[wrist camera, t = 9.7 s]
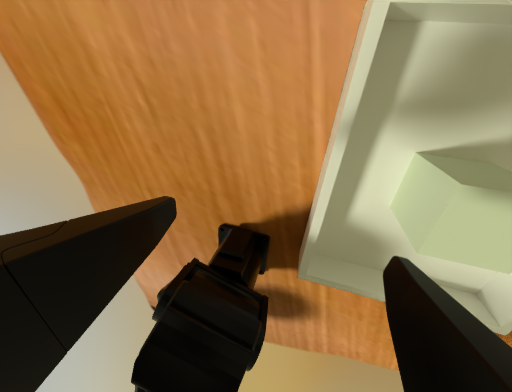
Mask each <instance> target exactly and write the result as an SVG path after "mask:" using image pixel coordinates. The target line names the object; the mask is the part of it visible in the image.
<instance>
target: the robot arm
mask: <svg viewBox="0 0 512 392" xmlns="http://www.w3.org/2000/svg"><path fill="white" fill-rule="evenodd" d="M176 215H177V212H176V201H175V199H174V198H172V197H168V196H163V197H159V198H155V199H151V200H147V201H143V202H139V203H135V204H131V205H127V206H123V207H119V208H115V209H111V210H107V211H103V212H99V213H95V214H91V215H87V216H83V217H79V218H75V219H71V220H69V221H63V222H58V223H54V224H50V225H47V226H42V227H38V228H34V229H29V230H24V231H20V232H15V233H11V234H6V235H1V236H0V392H35V391H36V390H37V389H38V387H39V386H40V385H41V384H42V383H43V381H44V380H45V379H46V378H47V377H48V375H49V374H50V373H51V372H52V371H53V370H54V368H55V367H56V366H57V365H58V364H59V362H60V361H61V360H62V359H63V358H64V356H65V355H66V354H67V352H68V351H69V350H70V349H71V348H72V346H73V345H74V344H75V343H76V342H77V341H78V339H79V338H80V337H81V336H82V335H83V333H84V332H85V331H86V330H87V328H88V327H89V326H90V325H91V324H92V323H93V321H94V320H95V319H96V318H97V317H98V315H99V314H100V313H101V312H102V311H103V309H104V308H105V307H106V306H107V305H108V303H109V302H110V301H111V300H112V299H113V298H114V296H115V295H116V294H117V293H118V292H119V290H120V289H121V288H122V286H123V285H124V284H125V283H126V282H127V281H128V280H129V278H130V277H131V276H132V275H133V274H134V272H135V271H136V270H137V269H138V268H139V266H140V265H141V264H142V263H143V262H144V260H145V259H146V258H147V257H148V256H149V255H150V253H151V252H152V251H153V250H154V248H155V247H156V246H157V245H158V243H159V242H160V240H161V239H162V237H163V236H164V234H165V233H166V232H167V230H168V229H169V227H170V226H171V224H172V223H173V221H174V220H175V218H176ZM222 228H223V229H222ZM218 237H219V247H218V249H217V250H216V252H215V254H214V255H213V257H212V259H211V260H210V262H209V263H208V265H205V264H203V263H202V262H200V261H199V260H198V259H196V258H194V259H193V260H192V261H191V262H190V263H188V264H187V265H185V266H184V267H183V268H182V270H181V271H180V272H179V274H178V275H177V276H176V277H175V278H174V279H173V280H172V281H171V282H170V283H168V284H167V285H166V286H165V287H164V288H162V289H161V290H160V292H159V293H158V295H157V299H158V304H157V306H156V309H155V312H154V314H153V316H152V319H153V320H155V321H157V323H156V324H155V326H154V328H153V329H152V331H151V333H150V334H149V336H148V338H147V339H146V341H145V343H144V345H143V346H142V348H141V350H140V352H139V355H138V357H137V359H136V360H135V363H134V368H133V373H132V378H131V383H132V384H134V385H135V392H238V389H239V386H240V384H241V381H242V379H243V376H244V374H245V371H250V370H251V369H252V367H253V366H254V364H255V362H256V360H257V358H258V356H259V353H260V351H261V347H262V345H263V341H264V337H265V332H266V322H267V310H268V297H267V296H265V295H261V294H259V293H258V292H256V291H254V290H253V288H254V285H255V282H256V279H257V276H258V274H261V275H262V274H264V272H265V267H266V261H267V254H268V248H269V241H270V238H269V236H267V235H263V234H259V233H255V232H251V231H247V230H243V229H239V228H235V227H231V226H227V225H220V226H219V228H218ZM265 239H266V240H265ZM260 270H261V271H260ZM383 284H384V293H385V302H386V311H387V318H388V323H389V327H390V332H391V336H392V340H393V345H394V349H395V354H396V358H397V362H398V367H399V371H400V375H401V380H402V384H403V389H404V392H512V348H511V347H510V346H509V345H508V344H507V343H506V342H504V341H503V340H502V339H501V338H500V337H499V336H497V335H496V334H495V333H494V332H493V331H491V330H490V329H489V328H488V327H487V326H486V325H484V324H483V323H482V322H481V321H480V320H479V319H477V318H476V317H475V316H474V315H473V314H472V313H470V312H469V311H468V310H467V309H466V308H465V307H463V306H462V305H461V304H460V303H459V302H458V301H456V300H455V299H454V298H453V297H452V296H451V295H449V294H448V293H447V292H446V291H445V290H444V289H442V288H441V287H440V286H439V285H438V284H437V283H435V282H434V281H433V280H432V279H431V278H430V277H428V276H427V275H426V274H425V273H424V272H423V271H421V270H420V269H419V268H418V267H417V266H416V265H414V264H413V263H412V262H411V261H410V260H409V259H407V258H404V257H400V256H393V257H392V258H391V260H390V261H389V263H388V264H387V266H386V267H385V269H384V271H383Z"/></svg>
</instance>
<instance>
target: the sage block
mask: <svg viewBox="0 0 512 392" xmlns="http://www.w3.org/2000/svg"><path fill="white" fill-rule="evenodd" d="M390 208H391V210H392V212H393V213H394V215H395V217H396V218H397V220H398V222H399V224H400V225H401V227H402V229H403V231H404V232H405V234H406V236H407V237H408V239H409V241H410V243H411V244H412V246H413V248H414V250H415V251H416V253H417V254H422V255H426V256H431V257H435V258H439V259H444V260H448V261H453V262H457V263H462V264H466V265H471V266H475V267H480V268H484V269H488V270H493V271H497V272H502V273H506V274H510V273H511V272H512V172H511V171H509V170H507V169H504V168H502V167H500V166H498V165H495V164H493V163H489V162H482V161H474V160H467V159H460V158H453V157H445V156H438V155H431V154H424V153H416V152H415V154H414V157H413V159H412V161H411V163H410V165H409V167H408V169H407V171H406V173H405V175H404V177H403V180H402V182H401V184H400V186H399V188H398V190H397V192H396V194H395V196H394V198H393V200H392V203H391V205H390Z"/></svg>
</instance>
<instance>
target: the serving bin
mask: <svg viewBox="0 0 512 392" xmlns="http://www.w3.org/2000/svg"><path fill="white" fill-rule="evenodd" d="M415 152H416V153H424V154H431V155H438V156H445V157H453V158H460V159H467V160H474V161H482V162H489V163H493V164H495V165H498V166H500V167H502V168H504V169H507V170H509V171H511V172H512V0H368V1H367V2H366V4H365V6H364V9H363V13H362V17H361V20H360V24H359V28H358V32H357V36H356V39H355V43H354V47H353V51H352V55H351V58H350V62H349V66H348V70H347V74H346V78H345V81H344V85H343V89H342V93H341V97H340V100H339V104H338V108H337V112H336V116H335V119H334V123H333V127H332V131H331V135H330V138H329V142H328V146H327V150H326V154H325V157H324V161H323V165H322V169H321V173H320V176H319V180H318V184H317V188H316V192H315V195H314V199H313V203H312V207H311V211H310V214H309V218H308V222H307V226H306V230H305V233H304V237H303V241H302V245H301V249H300V255H299V263H298V272H297V278H301V279H304V280H308V281H311V282H315V283H319V284H322V285H326V286H329V287H333V288H336V289H340V290H344V291H347V292H351V293H354V294H358V295H362V296H365V297H369V298H372V299H376V300H380V301H383V302H385V293H384V284H383V271H384V269H385V267H386V266H387V264H388V263H389V261H390V260H391V258H392V257H393V256H400V257H404V258H407V259H409V260H410V261H411V262H412V263H413V264H414V265H416V266H417V267H418V268H419V269H420V270H421V271H423V272H424V273H425V274H426V275H427V276H428V277H430V278H431V279H432V280H433V281H434V282H435V283H437V284H438V285H439V286H440V287H441V288H442V289H444V290H445V291H446V292H447V293H448V294H449V295H451V296H452V297H453V298H454V299H455V300H456V301H458V302H459V303H460V304H461V305H462V306H463V307H465V308H466V309H467V310H468V311H469V312H470V313H472V314H473V315H474V316H475V317H476V318H477V319H479V320H480V321H481V322H482V323H483V324H484V325H486V326H487V327H488V328H489V329H490V330H491V331H493V332H494V333H498V334H502V335H505V336H506V335H507V334H508V333H510V332H511V331H512V272H511V273H510V274H506V273H502V272H497V271H493V270H488V269H484V268H480V267H475V266H471V265H466V264H462V263H457V262H453V261H448V260H444V259H439V258H435V257H431V256H426V255H422V254H417V253H416V251H415V250H414V248H413V246H412V244H411V243H410V241H409V239H408V237H407V236H406V234H405V232H404V231H403V229H402V227H401V225H400V224H399V222H398V220H397V218H396V217H395V215H394V213H393V212H392V210H391V208H390V205H391V203H392V200H393V198H394V196H395V194H396V192H397V190H398V188H399V186H400V184H401V182H402V180H403V177H404V175H405V173H406V171H407V169H408V167H409V165H410V163H411V161H412V159H413V157H414V154H415Z"/></svg>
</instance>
